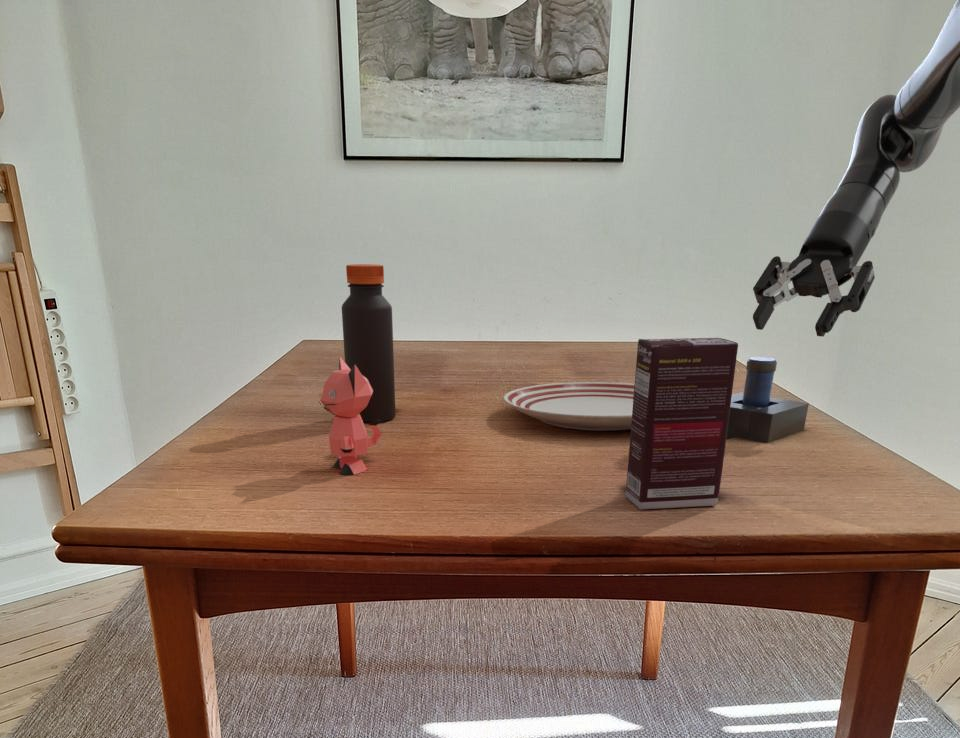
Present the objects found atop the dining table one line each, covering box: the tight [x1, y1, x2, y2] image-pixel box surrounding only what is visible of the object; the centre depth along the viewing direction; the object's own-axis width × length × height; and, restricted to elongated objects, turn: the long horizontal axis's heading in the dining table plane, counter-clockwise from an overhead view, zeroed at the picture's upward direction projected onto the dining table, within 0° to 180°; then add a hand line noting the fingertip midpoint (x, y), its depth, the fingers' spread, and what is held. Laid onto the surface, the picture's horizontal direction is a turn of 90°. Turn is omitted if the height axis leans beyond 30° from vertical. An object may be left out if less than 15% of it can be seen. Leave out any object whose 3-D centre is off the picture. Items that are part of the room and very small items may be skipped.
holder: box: [726, 391, 810, 444], centre depth 111 cm, size 10×10×4 cm
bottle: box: [341, 263, 396, 424], centre depth 115 cm, size 7×7×20 cm
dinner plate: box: [503, 381, 635, 432], centre depth 121 cm, size 28×27×3 cm
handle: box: [742, 356, 778, 408], centre depth 110 cm, size 4×4×10 cm
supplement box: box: [625, 337, 739, 511], centre depth 83 cm, size 9×5×16 cm, turn 100°
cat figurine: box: [318, 355, 383, 476], centre depth 94 cm, size 7×7×12 cm
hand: (787, 328), depth 110 cm, fingers open, 8 cm apart
